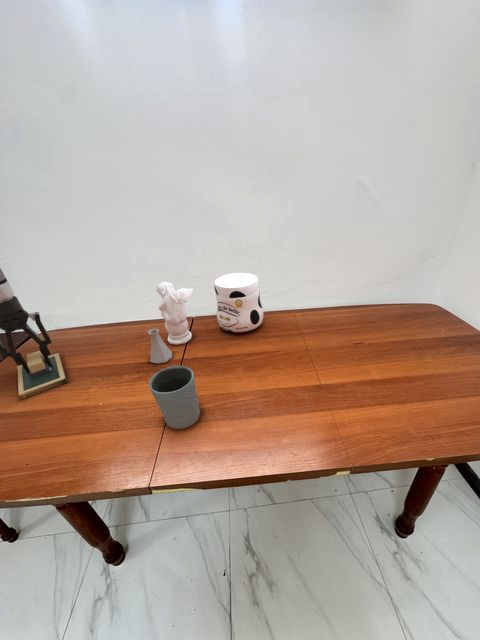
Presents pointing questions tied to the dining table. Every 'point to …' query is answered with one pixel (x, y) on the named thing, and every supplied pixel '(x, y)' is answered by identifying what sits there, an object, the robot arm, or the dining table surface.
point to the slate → (41, 378)
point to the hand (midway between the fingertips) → (39, 367)
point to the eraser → (37, 364)
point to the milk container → (238, 302)
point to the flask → (158, 348)
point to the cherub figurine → (175, 312)
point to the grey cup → (176, 396)
